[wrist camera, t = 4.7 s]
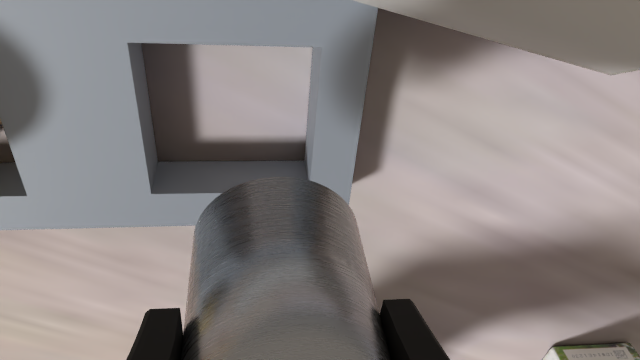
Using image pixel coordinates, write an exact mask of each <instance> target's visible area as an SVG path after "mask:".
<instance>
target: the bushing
mask: <svg viewBox="0 0 640 360" xmlns="http://www.w3.org/2000/svg"><path fill="white" fill-rule="evenodd" d="M181 360H391V359H390V355H389V351H388V347H387V343H386V339H385V335H384V331H383V327H382V323H381V319H380V315H379V311H378V307H377V303H376V299H375V294H374V290H373V286H372V282H371V278H370V274H369V270H368V266H367V262H366V258H365V254H364V250H363V246H362V242H361V238H360V234H359V230H358V226H357V222H356V218H355V216H354V213H353V211H352V210H351V208H350V207H349V205H348V204H347V203H346V202H345V200H344V199H343V198H342V197H340V196H339V195H338V194H337V193H336V192H334V191H332V190H331V189H329V188H328V187H325V186H323V185H321V184H319V183H316V182H313V181H310V180H306V179H301V178H295V177H267V178H260V179H255V180H251V181H248V182H245V183H242V184H239V185H237V186H235V187H232V188H230V189H228V190H227V191H225V192H224V193H222V194H220V195H219V196H218V197H216V198H215V199H214V200H213V201H212V202H211V203H210V204H209V205H208V206H207V207H206V208H205V209H204V211H203V212H202V214H201V215H200V217H199V219H198V221H197V224H196V227H195V231H194V240H193V249H192V258H191V268H190V277H189V286H188V296H187V305H186V314H185V324H184V333H183V342H182V352H181Z"/></svg>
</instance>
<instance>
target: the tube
mask: <svg viewBox="0 0 640 360" xmlns="http://www.w3.org/2000/svg"><path fill="white" fill-rule="evenodd" d="M353 1H357V2H360V3H363V4H367V5H370V6H374V7H377V8H381V9H384V10H387V11H391V12H394V13H398V14H401V15H405V16H408V17H412V18H415V19H418V20H422V21H425V22H429V23H432V24H436V25H439V26H442V27H446V28H449V29H453V30H456V31H460V32H463V33H467V34H470V35H473V36H477V37H480V38H484V39H487V40H491V41H494V42H498V43H501V44H504V45H508V46H511V47H515V48H518V49H522V50H525V51H528V52H532V53H535V54H539V55H542V56H546V57H549V58H553V59H556V60H559V61H563V62H566V63H570V64H573V65H577V66H580V67H584V68H587V69H590V70H594V71H597V72H601V73H604V74H608V75H616V74H621V73H627V72H632V71H637V70H640V0H353Z"/></svg>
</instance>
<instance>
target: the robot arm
mask: <svg viewBox="0 0 640 360" xmlns="http://www.w3.org/2000/svg"><path fill="white" fill-rule="evenodd" d="M380 319H381V323H382V327H383V331H384V335H385V339H386V343H387V347H388V351H389V355H390V359H391V360H450V359H449V357H448V356H447V355H446V353H445V352H444V350H443V349H442V347H441V346H440V344H439V343H438V341H437V340H436V338H435V336H434V335H433V333H432V332H431V330H430V329H429V327H428V326H427V324H426V322H425V321H424V319H423V318H422V316H421V314H420V313H419V311H418V310H417V308H416V306H415V305H414V303H413V302H412V301H411V300H410V299H396V300H383V304H382V308H381V312H380ZM182 342H183V330H182V322H181V313H180V308H168V309H150V310H149V311H147V312H146V313H145V316H144V318H143V321H142V324H141V327H140V329H139V332H138V334H137V337H136V339H135V342H134V344H133V346H132V349H131V351H130V353H129V355H128V357H127V360H181V352H182Z"/></svg>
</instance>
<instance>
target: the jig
mask: <svg viewBox="0 0 640 360" xmlns="http://www.w3.org/2000/svg"><path fill="white" fill-rule="evenodd" d="M377 12H378V8H377V7H374V6H370V5H367V4H363V3H360V2H357V1H353V0H0V119H1V122H2V125H3V128H4V131H5V134H6V137H7V139H8V142H9V145H10V148H11V151H12V154H13V157H14V159H15V162H16V163H0V230H27V229H69V228H110V227H151V226H192V225H196V224H197V221H198V219H199V217H200V215H201V214H202V212H203V211H204V209H205V208H206V207H207V206H208V205H209V204H210V203H211V202H212V201H213V200H214V199H215V198H216V197H218V196H219V195H220V194H222V193H224V192H225V191H227V190H228V189H230V188H232V187H235V186H237V185H239V184H242V183H245V182H248V181H251V180H255V179H260V178H267V177H295V178H301V179H306V180H310V181H313V182H316V183H319V184H321V185H323V186H325V187H328V188H329V189H331V190H332V191H334V192H336V193H337V194H338V195H339V196H340V197H342V198H343V199H344V200H345V202H346V203H347V204H348V205H349V200H350V193H351V187H352V180H353V173H354V167H355V160H356V153H357V146H358V140H359V133H360V126H361V120H362V113H363V106H364V99H365V93H366V86H367V79H368V73H369V66H370V59H371V53H372V46H373V39H374V32H375V26H376V19H377ZM141 43H164V44H204V45H245V46H285V47H313V52H312V65H311V79H310V92H309V105H308V119H307V132H306V146H305V159H304V161H188V162H158V159H157V152H156V145H155V137H154V130H153V123H152V116H151V109H150V102H149V95H148V88H147V80H146V73H145V66H144V59H143V52H142V45H141Z"/></svg>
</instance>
